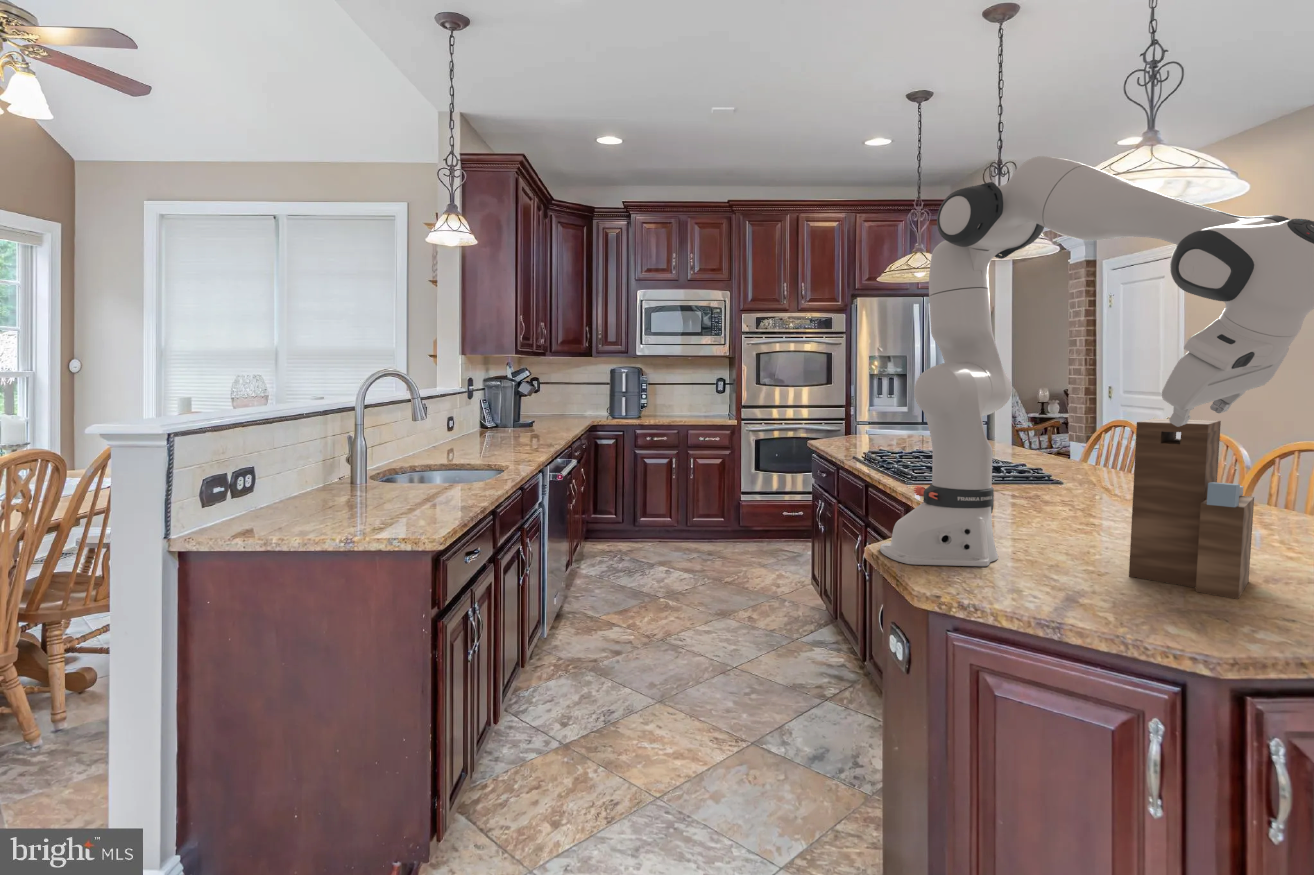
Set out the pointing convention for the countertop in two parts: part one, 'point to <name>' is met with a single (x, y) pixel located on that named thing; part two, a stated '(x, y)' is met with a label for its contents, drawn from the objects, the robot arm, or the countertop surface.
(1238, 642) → the countertop surface
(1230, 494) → the plug
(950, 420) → the robot arm
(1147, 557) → the stand
